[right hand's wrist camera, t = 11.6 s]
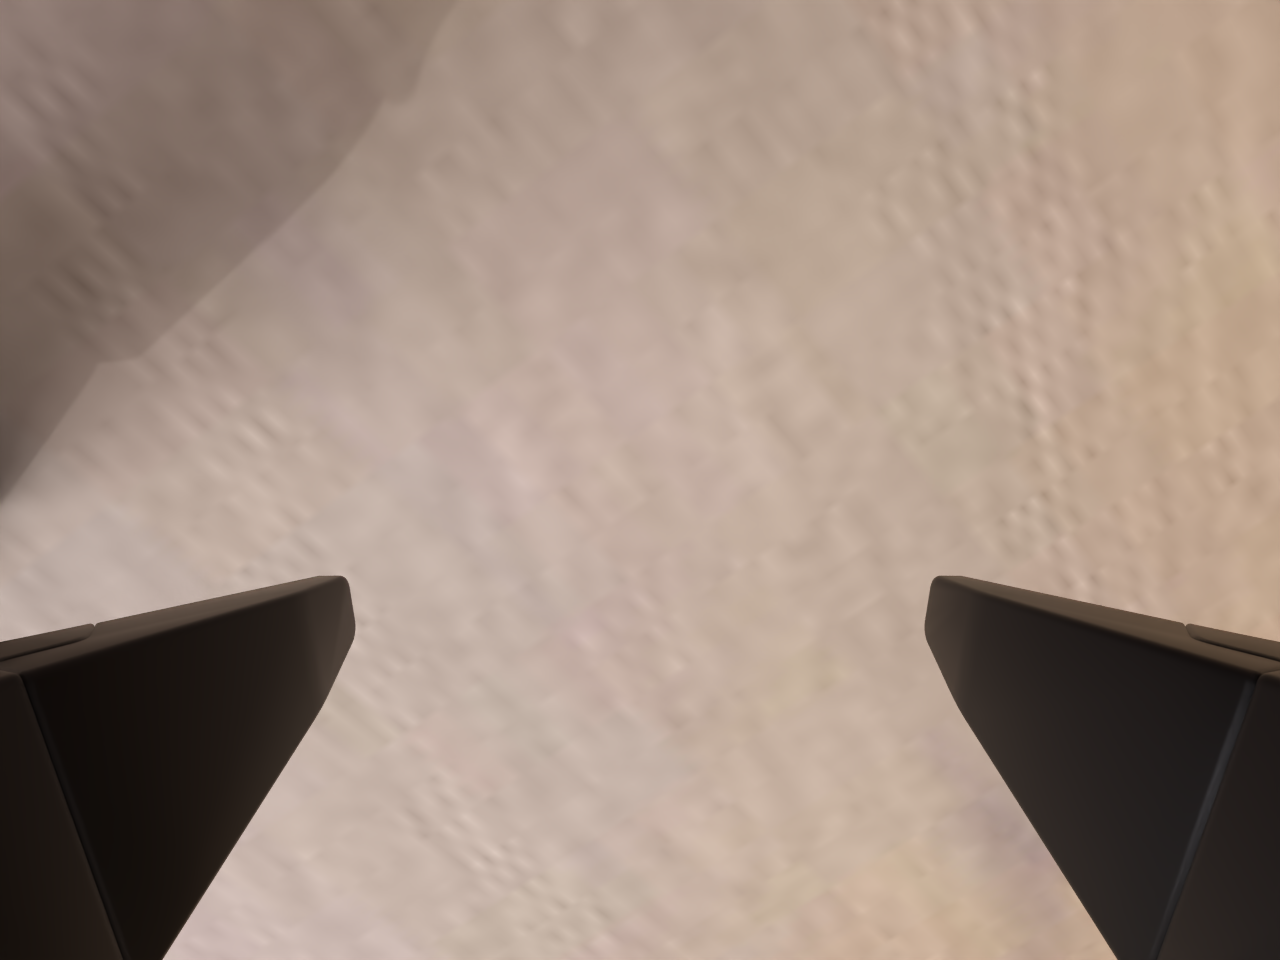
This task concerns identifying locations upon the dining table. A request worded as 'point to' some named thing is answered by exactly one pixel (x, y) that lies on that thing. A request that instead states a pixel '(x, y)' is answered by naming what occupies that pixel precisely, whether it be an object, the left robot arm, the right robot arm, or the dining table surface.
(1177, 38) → the dining table surface
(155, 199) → the dining table surface
